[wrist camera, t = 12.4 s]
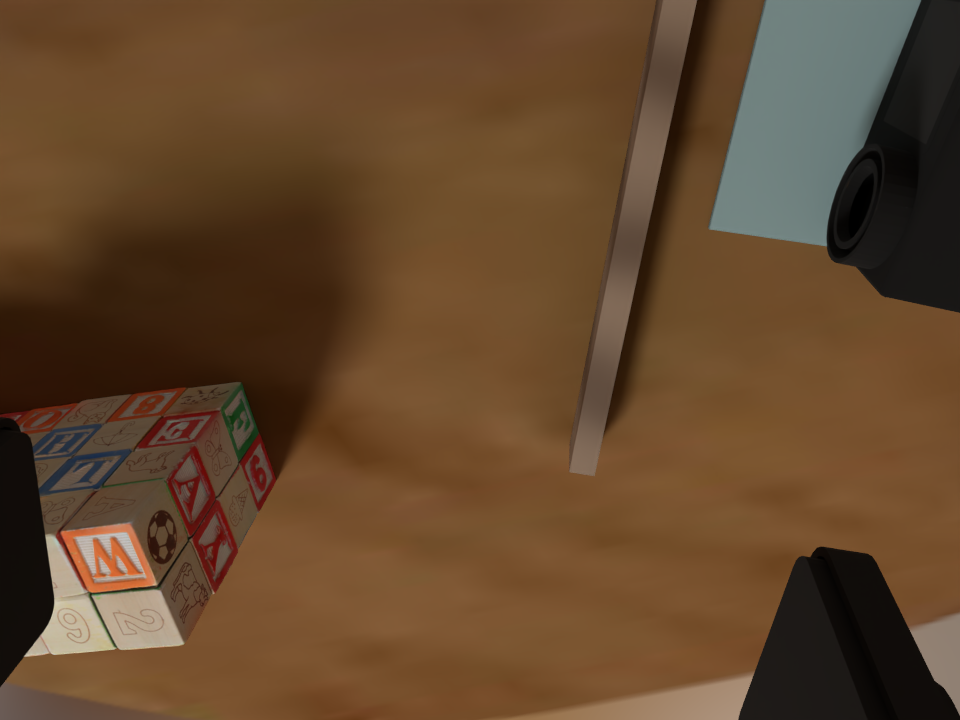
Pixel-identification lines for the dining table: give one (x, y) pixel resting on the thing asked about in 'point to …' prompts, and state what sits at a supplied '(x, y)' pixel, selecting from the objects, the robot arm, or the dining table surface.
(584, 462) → the twin metal rails
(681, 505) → the dining table surface
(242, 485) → the stack of blocks
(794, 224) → the front mat
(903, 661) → the robot arm
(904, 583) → the dining table surface
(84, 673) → the dining table surface
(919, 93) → the digital camera
